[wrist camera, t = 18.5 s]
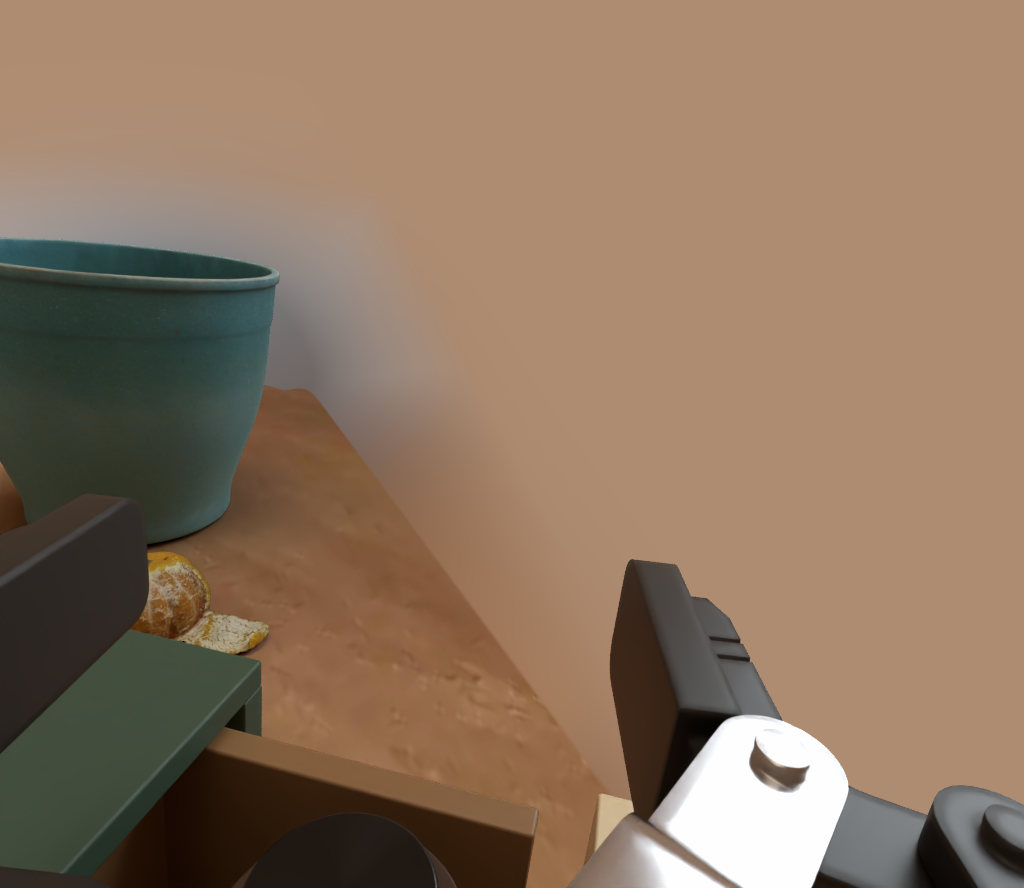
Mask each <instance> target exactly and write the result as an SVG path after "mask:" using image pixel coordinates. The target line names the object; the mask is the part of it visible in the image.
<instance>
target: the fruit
mask: <svg viewBox="0 0 1024 888" xmlns="http://www.w3.org/2000/svg"><path fill="white" fill-rule="evenodd" d="M148 569H149V594H148V599H147V603H146V606H145V608H144V610H143V613H142V614H141V616H140V618H139V619H138V621H137V622H136V623H135V624H134V625H133V626H132V627H131V628H130V630H135V631H139V632H143V633H147V634H151V635H155V636H159V637H163V638H168V639H172V640H176V641H186V643H188V644H195V645H198V646H202V647H205V648H209V649H213V650H217V651H221V652H225V653H230V654H237V653H239V652H243V651H247V650H248V649H250V648H253V647H254V646H255V645H258V644H259V643H260V642H261V641H262V640H263V639H264V638H265V637H266V636H267V633H268V632H269V626H268V625H266V624H265V623H263V622H261V621H250V620H248V619H241V618H238V617H236V616H232V615H227V614H226V615H224V614H218V613H216V612H214V611H213V612H211V611H209V608H210V599H211V598H210V595H211V594H210V589H209V586H208V583H207V582H206V580H205V579H204V577H203V576H202V574H201V573H200V571H199V570H198V569H197V568H196V567H195V566H194V565H193V563H192V562H191V561H190V560H188V559H187V558H185V557H183V556H181V555H178V554H175V553H171V552H165V551H163V552H155V553H148Z"/></svg>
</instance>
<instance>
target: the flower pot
mask: <svg viewBox="0 0 1024 888" xmlns="http://www.w3.org/2000/svg"><path fill="white" fill-rule="evenodd" d="M278 283H279V272H278V271H277V270H275V269H273V268H270V267H268V266H264V265H261V264H257V263H252V262H247V261H242V260H237V259H232V258H225V257H219V256H212V255H204V254H198V253H190V252H183V251H175V250H167V249H157V248H149V247H140V246H130V245H120V244H109V243H97V242H84V241H68V240H52V239H32V238H1V237H0V461H1V463H2V465H3V466H4V468H5V470H6V472H7V473H8V475H9V477H10V479H11V480H12V482H13V484H14V486H15V488H16V490H17V491H18V493H19V495H20V497H21V500H22V503H23V506H24V517H25V519H26V521H27V523H28V524H30V523H34V522H35V521H37V520H39V519H41V518H42V517H44V516H46V515H48V514H49V513H51V512H53V511H55V510H56V509H58V508H60V507H62V506H63V505H65V504H67V503H69V502H70V501H72V500H74V499H76V498H77V497H79V496H81V495H83V494H98V495H106V496H114V497H123V498H131V499H136V500H138V501H139V502H140V503H141V504H142V506H143V508H144V512H145V521H146V537H147V544H152V543H157V542H162V541H167V540H171V539H175V538H178V537H182V536H185V535H188V534H190V533H193V532H196V531H198V530H200V529H202V528H204V527H206V526H208V525H209V524H211V523H213V522H214V521H216V520H217V519H218V518H220V517H221V516H222V515H223V514H224V512H225V511H226V510H227V508H228V506H229V504H230V490H231V483H232V480H233V477H234V474H235V471H236V468H237V465H238V463H239V460H240V457H241V454H242V452H243V449H244V447H245V444H246V442H247V439H248V437H249V434H250V432H251V429H252V427H253V424H254V421H255V418H256V415H257V412H258V409H259V405H260V401H261V397H262V392H263V387H264V381H265V374H266V365H267V356H268V344H269V334H270V326H271V322H272V317H273V306H274V295H275V285H276V284H278Z"/></svg>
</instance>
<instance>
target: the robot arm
mask: <svg viewBox="0 0 1024 888" xmlns="http://www.w3.org/2000/svg"><path fill="white" fill-rule="evenodd" d="M148 594H149V569H148V553H147V537H146V521H145V512H144V508H143V506H142V504H141V503H140V502H139V501H138V500H136V499H131V498H123V497H114V496H106V495H98V494H83V495H81V496H79V497H77V498H76V499H74V500H72V501H70V502H69V503H67V504H65V505H63V506H62V507H60V508H58V509H56V510H55V511H53V512H51V513H49V514H48V515H46V516H44V517H42V518H41V519H39V520H37V521H35V522H34V523H30V524H27V525H24V526H21V527H18V528H15V529H12V530H9V531H7V532H5V533H3V534H1V535H0V754H1V753H2V752H3V751H4V750H5V749H6V748H7V747H8V746H9V745H10V744H11V743H12V742H13V741H15V740H16V739H17V738H18V737H19V736H20V735H21V734H22V733H23V732H24V731H25V730H26V729H27V728H28V727H29V726H30V725H31V724H32V723H33V722H34V721H35V720H36V719H37V718H38V717H39V716H40V715H41V714H42V713H43V712H44V711H45V710H47V709H48V708H49V707H50V706H51V705H52V704H53V703H54V702H55V701H56V700H57V699H58V698H59V697H60V696H61V695H62V694H63V693H64V692H65V691H66V690H67V689H68V688H69V687H70V686H71V685H72V684H73V683H74V682H75V681H76V680H77V679H79V678H80V677H81V676H82V675H83V674H84V673H85V672H86V671H87V670H88V669H89V668H90V667H91V666H92V665H93V664H94V663H95V662H96V661H97V660H98V659H99V658H100V657H101V656H102V655H103V654H104V653H105V652H106V651H107V650H108V649H109V648H111V647H112V646H113V645H114V644H115V643H116V642H117V641H118V640H119V639H120V638H121V637H122V636H123V635H124V634H125V633H126V632H127V631H128V630H129V629H130V628H131V627H132V626H133V625H134V624H135V623H136V622H137V621H138V619H139V618H140V616H141V614H142V613H143V610H144V608H145V606H146V603H147V599H148ZM610 679H611V686H612V691H613V697H614V702H615V708H616V714H617V719H618V725H619V731H620V736H621V742H622V747H623V752H624V759H625V764H626V770H627V775H628V781H629V787H630V792H631V798H632V804H633V809H634V812H632V813H629V814H628V815H626V816H625V817H624V818H623V819H622V820H621V821H620V822H619V823H618V824H617V826H616V827H615V828H614V829H613V830H612V832H611V833H610V834H609V835H608V837H607V838H606V839H605V840H604V842H603V843H602V844H601V845H600V847H599V848H598V849H597V850H596V851H595V853H594V854H593V855H592V856H591V858H590V859H589V860H588V861H587V863H586V864H585V865H584V866H583V868H582V869H581V870H580V871H579V873H578V874H577V875H576V876H575V877H574V879H573V880H572V881H571V882H570V884H569V885H568V886H567V887H566V888H1024V805H1023V804H1021V803H1019V802H1016V801H1015V800H1012V799H1011V798H1008V797H1006V796H1003V795H1001V794H998V793H996V792H992V791H989V790H986V789H982V788H978V787H973V786H961V785H960V786H950V787H947V788H944V789H943V790H941V791H939V792H938V794H937V795H936V797H935V798H934V801H933V804H932V806H931V808H930V811H929V813H928V815H926V814H923V813H920V812H917V811H914V810H911V809H909V808H906V807H903V806H900V805H897V804H895V803H892V802H889V801H886V800H883V799H880V798H877V797H875V796H871V795H869V794H867V793H864V792H862V791H859V790H857V789H855V788H853V787H850V786H849V785H848V781H847V778H846V775H845V772H844V770H843V769H842V767H841V765H840V764H839V762H838V761H837V759H836V758H835V757H834V756H833V755H832V754H831V752H830V751H829V750H828V749H827V748H826V747H824V746H823V745H822V744H821V743H820V742H819V741H817V740H816V739H815V738H813V737H812V736H810V735H809V734H807V733H806V732H804V731H802V730H800V729H799V728H796V727H795V726H792V725H790V724H788V723H786V722H783V720H782V718H781V716H780V715H779V713H778V711H777V709H776V707H775V705H774V703H773V701H772V699H771V697H770V696H769V694H768V691H767V690H766V688H765V686H764V684H763V682H762V680H761V678H760V676H759V674H758V672H757V670H756V668H755V667H754V665H753V663H751V662H750V657H749V655H748V653H747V651H746V650H745V647H744V645H743V644H740V638H739V636H738V634H737V632H736V630H735V628H734V626H733V624H732V622H731V620H730V618H728V617H727V616H726V615H725V614H724V613H723V612H722V611H721V610H720V609H718V608H717V607H716V606H715V605H714V604H713V603H712V602H710V601H709V600H708V599H707V598H699V597H691V596H690V593H689V591H688V589H687V587H686V584H685V582H684V580H683V578H682V575H681V573H680V571H679V569H678V567H677V565H675V564H666V563H658V562H650V561H642V560H633V559H632V560H630V561H629V562H628V564H627V567H626V571H625V575H624V581H623V586H622V591H621V596H620V602H619V607H618V612H617V617H616V622H615V628H614V633H613V638H612V644H611V653H610ZM0 888H111V887H109V886H107V885H105V884H102V883H100V882H98V881H96V880H93V879H91V878H89V877H87V876H81V875H73V874H64V873H55V872H47V871H38V870H29V869H21V868H12V867H3V866H0Z"/></svg>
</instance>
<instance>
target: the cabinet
mask: <svg viewBox="0 0 1024 888" xmlns="http://www.w3.org/2000/svg"><path fill="white" fill-rule="evenodd" d="M260 685H261V662H260V661H259V660H254V659H250V658H246V657H242V656H238V655H234V654H230V653H225V652H221V651H217V650H213V649H209V648H205V647H201V646H197V645H192V644H188V643H184V642H180V641H176V640H172V639H168V638H163V637H159V636H155V635H151V634H147V633H143V632H139V631H135V630H130V629H129V630H128V631H127V632H126V633H125V634H124V635H123V636H122V637H121V638H120V639H119V640H118V641H117V642H116V643H115V644H114V645H113V646H112V647H111V648H109V649H108V650H107V651H106V652H105V653H104V654H103V655H102V656H101V657H100V658H99V659H98V660H97V661H96V662H95V663H94V664H93V665H92V666H91V667H90V668H89V669H88V670H87V671H86V672H85V673H84V674H83V675H82V676H81V677H80V678H79V679H77V680H76V681H75V682H74V683H73V684H72V685H71V686H70V687H69V688H68V689H67V690H66V691H65V692H64V693H63V694H62V695H61V696H60V697H59V698H58V699H57V700H56V701H55V702H54V703H53V704H52V705H51V706H50V707H49V708H48V709H47V710H45V711H44V712H43V713H42V714H41V715H40V716H39V717H38V718H37V719H36V720H35V721H34V722H33V723H32V724H31V725H30V726H29V727H28V728H27V729H26V730H25V731H24V732H23V733H22V734H21V735H20V736H19V737H18V738H17V739H16V740H15V741H13V742H12V743H11V744H10V745H9V746H8V747H7V748H6V749H5V750H4V751H3V752H2V753H1V754H0V866H3V867H12V868H21V869H29V870H38V871H47V872H55V873H64V874H73V875H81V876H87V877H89V878H90V877H91V876H92V875H93V874H94V873H95V872H96V871H97V869H98V868H99V867H100V866H101V865H102V864H103V863H104V862H105V860H106V859H107V858H108V857H109V856H110V855H111V854H112V853H113V851H114V850H115V849H116V848H117V847H118V846H119V845H120V844H121V842H122V841H123V840H124V839H125V838H126V837H127V836H128V834H129V833H130V832H131V831H132V830H133V829H134V828H135V827H136V825H137V824H138V823H139V822H140V821H141V820H142V819H143V818H144V816H145V815H146V814H147V813H148V812H149V811H150V810H151V808H152V807H153V806H154V805H155V804H156V803H157V802H158V801H159V799H160V798H161V797H162V796H163V795H164V794H165V793H166V792H167V790H168V789H169V788H170V787H171V786H172V785H173V784H174V783H175V781H176V780H177V779H178V778H179V777H180V776H181V775H182V773H183V772H184V771H185V770H186V769H187V768H188V767H189V766H190V764H191V763H192V762H193V761H194V760H195V759H196V758H197V757H198V755H199V754H200V753H201V752H202V751H203V750H204V749H205V748H206V746H207V745H208V744H209V743H210V742H211V741H212V740H213V738H214V737H215V736H216V735H217V734H218V733H219V732H220V731H221V729H222V728H223V727H226V728H229V729H233V730H237V731H241V732H245V733H249V734H252V735H256V736H260V737H261V717H262V687H261V686H260Z"/></svg>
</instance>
